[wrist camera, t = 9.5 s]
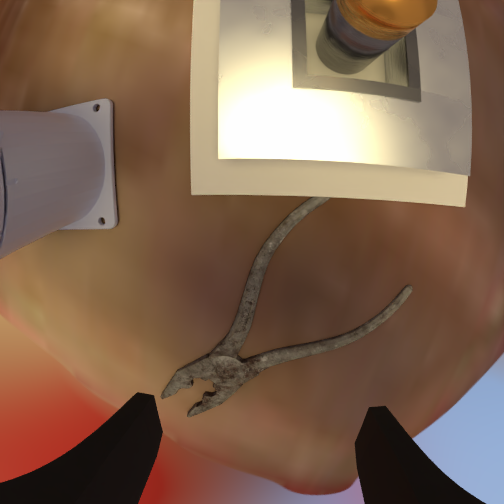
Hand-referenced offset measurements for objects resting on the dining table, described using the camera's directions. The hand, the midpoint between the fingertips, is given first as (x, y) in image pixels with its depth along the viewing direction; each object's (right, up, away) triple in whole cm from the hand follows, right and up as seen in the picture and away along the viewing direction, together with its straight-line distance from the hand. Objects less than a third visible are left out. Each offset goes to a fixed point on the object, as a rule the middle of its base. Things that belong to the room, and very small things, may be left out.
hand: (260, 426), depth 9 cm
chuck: (+5, +16, +5) cm, 18 cm away
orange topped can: (+4, +16, +4) cm, 18 cm away
